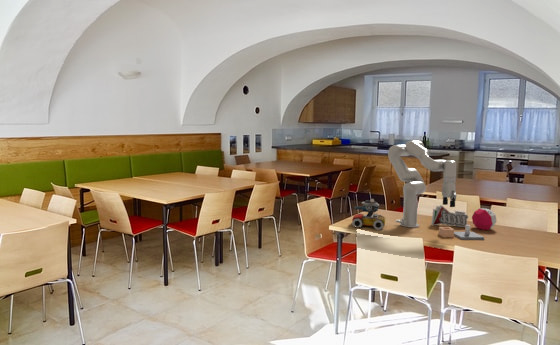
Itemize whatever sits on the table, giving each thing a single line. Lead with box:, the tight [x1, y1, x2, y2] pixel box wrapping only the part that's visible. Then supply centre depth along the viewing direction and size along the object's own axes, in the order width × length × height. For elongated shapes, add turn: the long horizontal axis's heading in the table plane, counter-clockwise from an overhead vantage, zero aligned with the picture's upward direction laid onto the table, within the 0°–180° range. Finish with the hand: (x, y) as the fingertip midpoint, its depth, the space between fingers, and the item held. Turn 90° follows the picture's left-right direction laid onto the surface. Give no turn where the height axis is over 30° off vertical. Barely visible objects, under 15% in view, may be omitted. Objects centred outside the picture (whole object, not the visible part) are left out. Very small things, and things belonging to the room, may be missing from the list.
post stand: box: [454, 224, 485, 241], centre depth 276 cm, size 15×14×8 cm
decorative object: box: [471, 208, 498, 231], centre depth 299 cm, size 15×15×15 cm
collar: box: [438, 226, 455, 238], centre depth 277 cm, size 7×7×5 cm
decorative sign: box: [430, 204, 469, 228], centre depth 305 cm, size 24×3×15 cm, turn 84°
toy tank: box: [351, 198, 386, 231], centre depth 299 cm, size 18×22×20 cm
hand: (448, 205), depth 278 cm, fingers open, 9 cm apart
